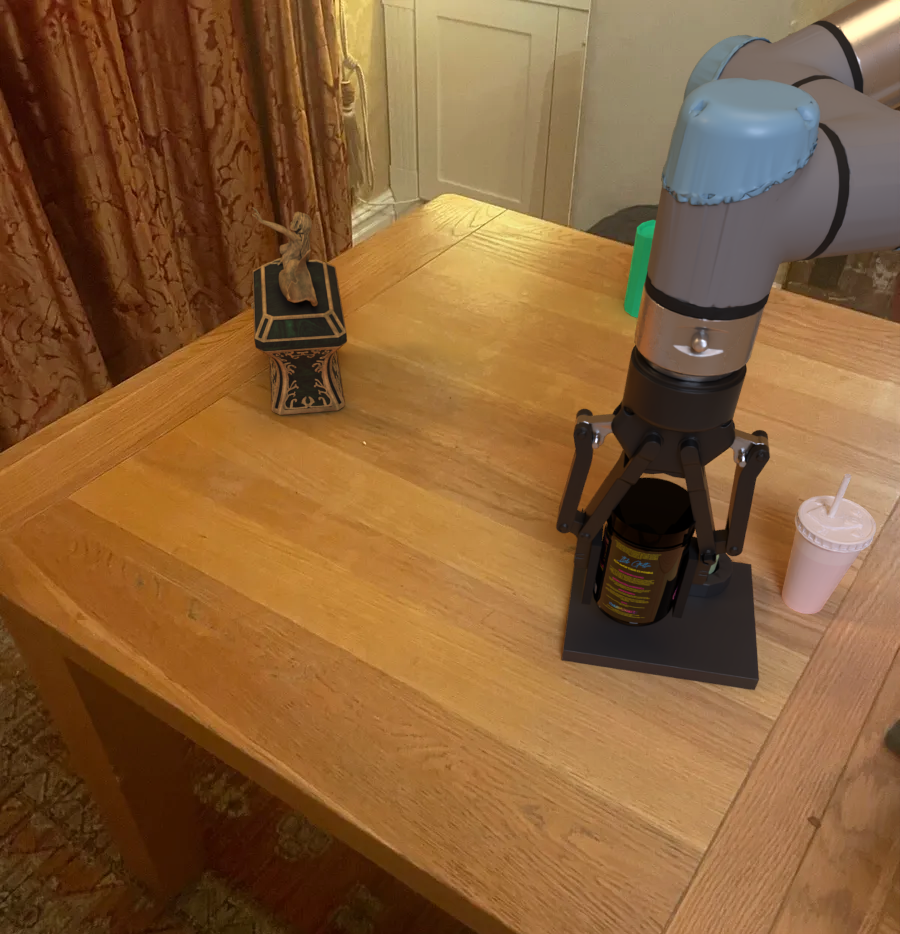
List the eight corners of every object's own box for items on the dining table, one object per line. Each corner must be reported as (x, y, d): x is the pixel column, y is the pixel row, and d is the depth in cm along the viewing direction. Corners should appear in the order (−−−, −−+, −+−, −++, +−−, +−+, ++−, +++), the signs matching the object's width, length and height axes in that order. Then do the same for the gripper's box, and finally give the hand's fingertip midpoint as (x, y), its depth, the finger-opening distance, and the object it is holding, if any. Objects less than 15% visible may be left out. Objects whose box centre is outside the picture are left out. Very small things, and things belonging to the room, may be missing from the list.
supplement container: (675, 634, 73) (704, 537, 66) (591, 628, 73) (611, 531, 66) (668, 576, 78) (694, 480, 70) (589, 570, 78) (607, 474, 71)
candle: (665, 323, 117) (684, 231, 108) (619, 315, 118) (634, 223, 109) (672, 302, 121) (691, 211, 112) (628, 294, 122) (643, 204, 113)
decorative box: (261, 347, 110) (237, 181, 96) (340, 341, 112) (328, 177, 98) (265, 444, 97) (238, 267, 83) (355, 437, 98) (343, 261, 84)
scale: (747, 572, 85) (755, 548, 82) (754, 690, 75) (764, 667, 73) (576, 548, 86) (580, 524, 84) (561, 660, 76) (565, 637, 74)
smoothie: (768, 568, 85) (814, 446, 75) (839, 583, 84) (895, 461, 74) (764, 616, 81) (813, 493, 71) (839, 632, 79) (899, 510, 69)
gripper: (533, 365, 57) (508, 614, 74) (853, 403, 55) (754, 650, 72) (546, 308, 63) (520, 552, 79) (839, 341, 60) (750, 585, 77)
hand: (631, 599), depth 75 cm, fingers closed on supplement container, 7 cm apart
